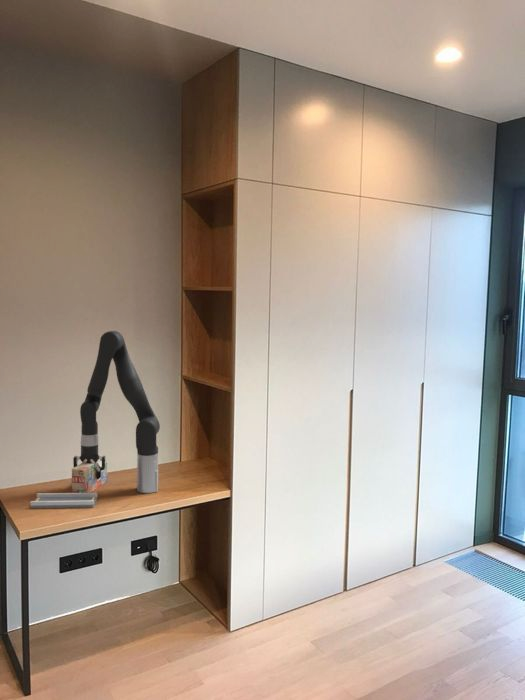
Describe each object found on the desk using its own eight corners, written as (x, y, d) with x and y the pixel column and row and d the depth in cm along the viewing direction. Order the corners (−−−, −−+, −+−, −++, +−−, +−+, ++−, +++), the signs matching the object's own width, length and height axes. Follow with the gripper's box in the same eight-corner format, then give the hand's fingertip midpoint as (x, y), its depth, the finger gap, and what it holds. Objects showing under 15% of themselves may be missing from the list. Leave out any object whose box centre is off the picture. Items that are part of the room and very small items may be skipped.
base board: (97, 498, 244) (97, 492, 244) (93, 507, 234) (93, 501, 234) (37, 499, 241) (37, 493, 241) (30, 508, 231) (30, 502, 231)
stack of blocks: (95, 480, 268) (95, 454, 267) (107, 481, 267) (107, 456, 265) (71, 495, 247) (71, 468, 246) (84, 497, 246) (84, 469, 245)
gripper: (107, 441, 259) (106, 476, 260) (75, 441, 257) (75, 476, 259) (104, 445, 251) (104, 481, 253) (71, 445, 250) (71, 481, 251)
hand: (89, 478), depth 256 cm, fingers closed on stack of blocks, 7 cm apart
